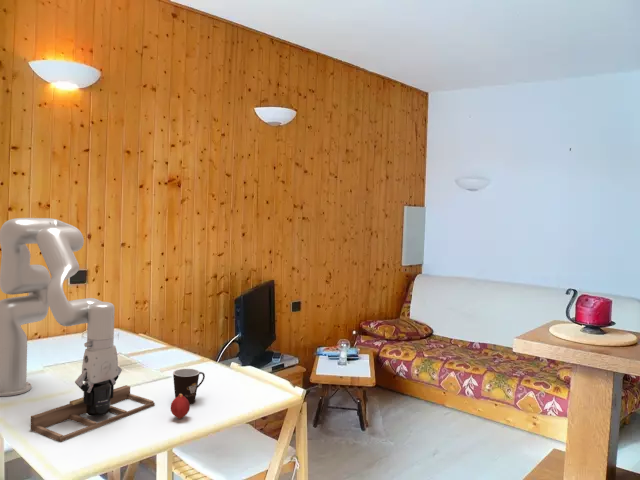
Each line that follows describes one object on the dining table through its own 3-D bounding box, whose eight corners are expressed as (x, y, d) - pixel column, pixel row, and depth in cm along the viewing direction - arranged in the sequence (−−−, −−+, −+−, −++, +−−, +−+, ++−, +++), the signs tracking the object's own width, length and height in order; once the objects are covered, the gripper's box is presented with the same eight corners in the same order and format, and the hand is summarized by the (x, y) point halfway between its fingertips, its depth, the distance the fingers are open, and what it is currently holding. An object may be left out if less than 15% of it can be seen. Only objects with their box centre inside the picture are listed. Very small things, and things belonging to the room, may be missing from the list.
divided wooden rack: (30, 429, 156) (30, 414, 156) (125, 396, 186) (126, 383, 185) (60, 442, 149) (61, 425, 149) (154, 405, 179) (155, 391, 179)
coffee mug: (175, 407, 178) (176, 377, 178) (169, 398, 186) (170, 369, 185) (210, 403, 184) (211, 374, 183) (203, 394, 191) (204, 366, 191)
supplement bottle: (101, 418, 163) (102, 378, 162) (81, 415, 164) (82, 376, 163) (114, 409, 170) (115, 371, 169) (95, 407, 171) (96, 369, 170)
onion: (172, 414, 172) (173, 390, 172) (190, 415, 173) (191, 390, 172) (168, 422, 166) (169, 396, 166) (187, 422, 167) (188, 396, 166)
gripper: (83, 351, 156) (81, 412, 157) (131, 339, 171) (129, 395, 172) (66, 346, 160) (65, 406, 161) (115, 335, 175) (113, 390, 176)
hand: (98, 400), depth 167 cm, fingers closed on supplement bottle, 6 cm apart
